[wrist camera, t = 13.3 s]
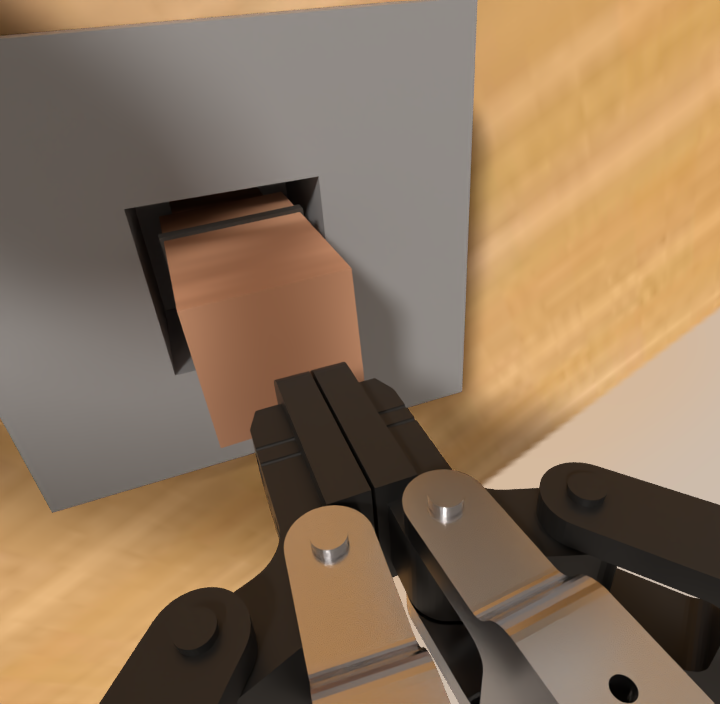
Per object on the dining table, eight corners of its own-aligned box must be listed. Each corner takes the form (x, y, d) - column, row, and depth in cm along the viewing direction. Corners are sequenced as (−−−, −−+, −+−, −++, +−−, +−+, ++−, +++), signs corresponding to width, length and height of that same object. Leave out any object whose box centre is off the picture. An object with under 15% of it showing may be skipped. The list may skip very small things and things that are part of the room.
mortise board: (66, 412, 24) (52, 512, 19) (-104, 44, 16) (-197, 56, 11) (403, 327, 28) (462, 391, 23) (393, 1, 20) (477, -4, 16)
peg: (182, 294, 22) (218, 452, 14) (150, 190, 20) (170, 308, 12) (283, 269, 23) (370, 404, 15) (264, 168, 21) (355, 263, 13)
